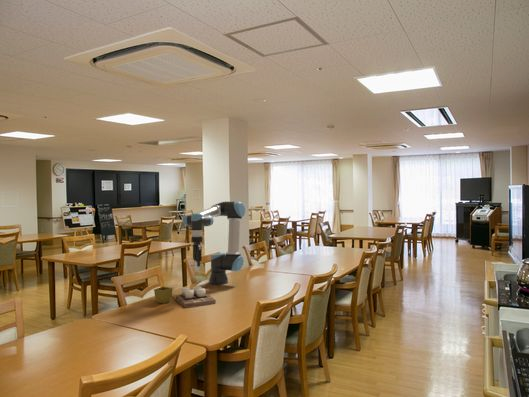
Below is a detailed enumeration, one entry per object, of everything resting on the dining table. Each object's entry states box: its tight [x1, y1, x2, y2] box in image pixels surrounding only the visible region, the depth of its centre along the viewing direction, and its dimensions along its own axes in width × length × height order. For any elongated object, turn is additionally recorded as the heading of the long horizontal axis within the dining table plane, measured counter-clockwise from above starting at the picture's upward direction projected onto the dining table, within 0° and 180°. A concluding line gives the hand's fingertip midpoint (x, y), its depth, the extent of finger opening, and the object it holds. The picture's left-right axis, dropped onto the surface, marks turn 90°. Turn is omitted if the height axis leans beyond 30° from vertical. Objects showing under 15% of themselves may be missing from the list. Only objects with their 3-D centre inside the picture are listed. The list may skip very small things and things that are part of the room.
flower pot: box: [153, 286, 174, 304], centre depth 256 cm, size 9×9×9 cm
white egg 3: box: [197, 287, 206, 297], centre depth 260 cm, size 6×6×4 cm
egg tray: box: [174, 292, 216, 309], centre depth 259 cm, size 24×20×3 cm
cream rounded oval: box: [185, 289, 194, 298], centre depth 256 cm, size 6×6×4 cm
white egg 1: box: [181, 286, 191, 295], centre depth 263 cm, size 6×6×4 cm
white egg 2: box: [192, 285, 203, 294], centre depth 267 cm, size 6×6×4 cm
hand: (197, 270), depth 267 cm, fingers open, 4 cm apart
